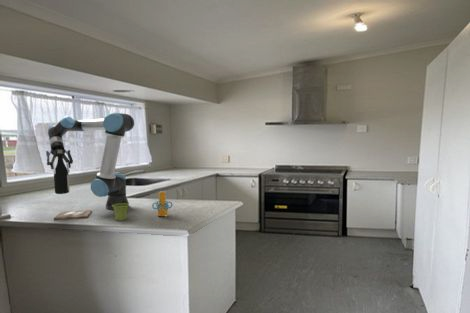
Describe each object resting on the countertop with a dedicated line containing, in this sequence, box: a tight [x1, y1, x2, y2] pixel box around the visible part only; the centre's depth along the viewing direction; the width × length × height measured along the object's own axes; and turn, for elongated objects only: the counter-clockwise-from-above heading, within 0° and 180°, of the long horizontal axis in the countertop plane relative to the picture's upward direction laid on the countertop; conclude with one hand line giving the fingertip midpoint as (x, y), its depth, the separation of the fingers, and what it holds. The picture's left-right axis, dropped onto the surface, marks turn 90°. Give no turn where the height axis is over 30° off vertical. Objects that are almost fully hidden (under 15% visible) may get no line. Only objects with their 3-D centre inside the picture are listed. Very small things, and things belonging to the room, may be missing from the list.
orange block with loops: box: [151, 190, 173, 217], centre depth 199 cm, size 12×10×15 cm
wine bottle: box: [53, 145, 70, 195], centre depth 201 cm, size 8×8×30 cm
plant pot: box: [112, 203, 130, 221], centre depth 191 cm, size 9×9×9 cm
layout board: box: [53, 209, 93, 221], centre depth 200 cm, size 18×16×1 cm
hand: (61, 172), depth 198 cm, fingers closed on wine bottle, 7 cm apart
